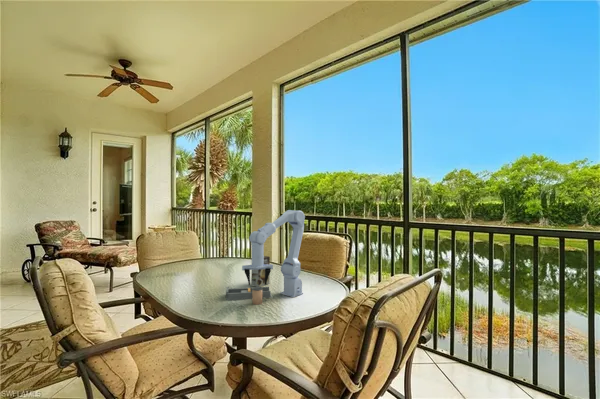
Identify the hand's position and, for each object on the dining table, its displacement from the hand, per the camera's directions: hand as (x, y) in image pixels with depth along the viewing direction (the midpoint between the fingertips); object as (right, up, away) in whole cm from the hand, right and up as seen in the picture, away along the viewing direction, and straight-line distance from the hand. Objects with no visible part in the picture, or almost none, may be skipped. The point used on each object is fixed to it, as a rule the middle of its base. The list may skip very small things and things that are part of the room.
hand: (257, 284), depth 143 cm
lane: (-6, -9, +10) cm, 15 cm away
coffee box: (-2, -9, +30) cm, 32 cm away
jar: (0, -9, 0) cm, 9 cm away
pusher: (-7, -7, +10) cm, 14 cm away
